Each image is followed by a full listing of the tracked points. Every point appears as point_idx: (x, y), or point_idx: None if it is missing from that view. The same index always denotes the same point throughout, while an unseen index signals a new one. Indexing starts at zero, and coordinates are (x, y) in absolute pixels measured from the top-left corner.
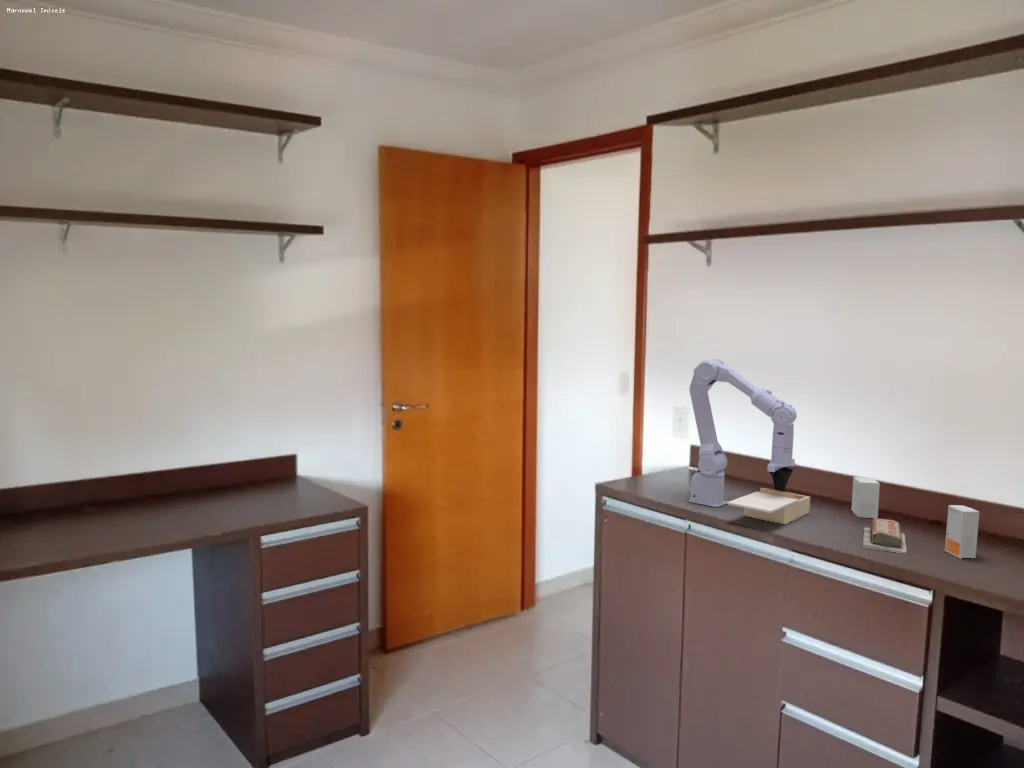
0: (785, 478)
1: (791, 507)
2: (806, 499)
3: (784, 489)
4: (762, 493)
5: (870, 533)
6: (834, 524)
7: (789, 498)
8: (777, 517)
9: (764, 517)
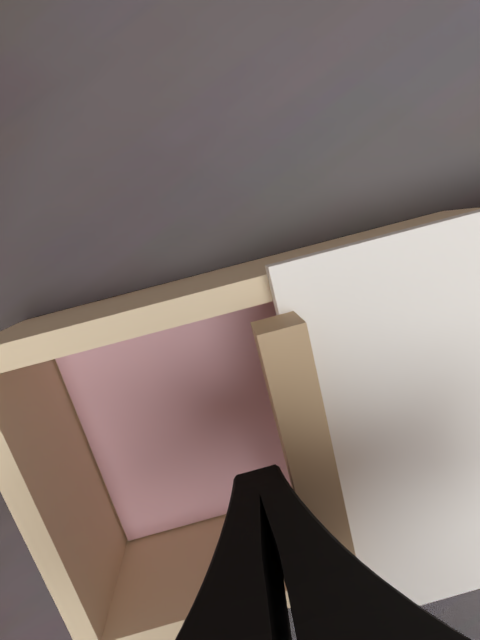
0: (361, 595)
1: None
2: (40, 331)
3: (252, 490)
4: (368, 565)
5: None
6: (101, 14)
7: (322, 337)
8: None
9: None
